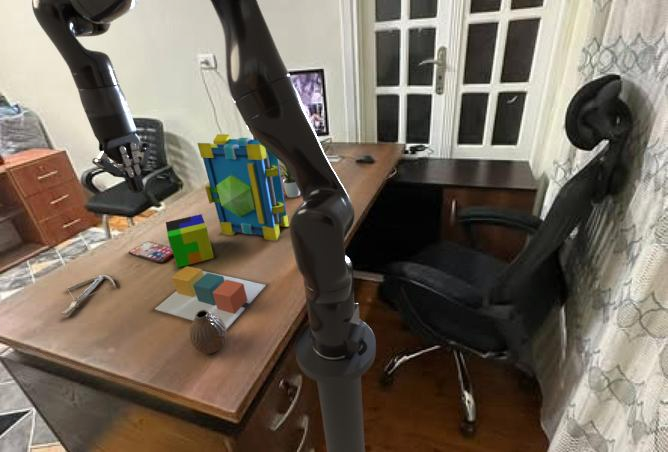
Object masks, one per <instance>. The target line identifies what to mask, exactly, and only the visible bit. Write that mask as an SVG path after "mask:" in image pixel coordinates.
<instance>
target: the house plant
mask: <svg viewBox="0 0 668 452" xmlns="http://www.w3.org/2000/svg"><path fill="white" fill-rule="evenodd" d="M278 163H279V167H280V168H281V169H280V176H281V178H283V179H282V180H281V182H282V186H283V188H284V192H285V194H286V196H287V198H291V199H293V198H297V197H300V196H301V193H300V191H299V189H298V187H297V184H296V182H295V180H294V179H293V177H292V175H291V173H290V172H289V171H288V169H287V168H286V167H285V166H284V165H283V164H282V162H281V161H279V160H278Z"/></svg>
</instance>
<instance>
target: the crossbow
mask: <svg viewBox="0 0 668 452" xmlns="http://www.w3.org/2000/svg"><path fill="white" fill-rule="evenodd" d="M105 279H107V280H109V281H110V282H111V283H112V285H110V286H107V287H105V288H103V289H100V290H97V291H96V292H93V293H92V294H90V293H91V292H92V291H93V290H95V289H96V287H97V286H98V285H100V284H101V282H102V281H104V280H105ZM90 282H92V283H91V284H90V285H89V286H87V288H85V289H84V290H83V291H82V292H81V293H80V294H79V295H78V296H77V297H76V298H74V297H73V295H72V293H71V292H70V291H72V290H74V289H76V288H78V287H80V286H83V285H86V284H88V283H90ZM110 287H114V288H116V287H117V285H116V283H115V281H114V280H113V278H112V277H111V276H109V275H107V274H99V275H97V276H94V277H91V278H88V279H85V280H83V281H80V282H78V283H75V284H73V285H71V286H68V287H66V291H67V292H69V294H70V296H71V297H72V299H73V301H72V302H71V304H70V305H69V306H68V307H67V308H66V309H65V310H63V311H61V315H62V317H63V318H69V317H70V316H71V315H72V314H73V313H74V311H75V310H76V308H80V303H81V302H82V301H83V300H84V299H85V298H87V297H90V296H91V295H94V294H97V293H98V292H101V291H103V290H105V289H107V288H110Z"/></svg>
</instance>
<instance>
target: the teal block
mask: <svg viewBox="0 0 668 452" xmlns="http://www.w3.org/2000/svg"><path fill="white" fill-rule="evenodd" d="M210 273H211V272H210ZM210 273H207V274H205V275H204V276H203V277H202V278H201V279H199V280H198V281H197V282H196V283H195V284H194V285H193V286H194V289H195V292H196V295H197V298H198V301H200V302H203V303H207V304H211V305H216V303H215V299H214V296H213V293H212V292H213V291H215V290H216V289H217V288H218V287H219V286H220V285H221V284H222V283H223V282H224V281H225V280H224V277H223V276H224V275H223V276H219V275H220V274H219V275H215V274H216V273H215V274H210Z"/></svg>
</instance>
